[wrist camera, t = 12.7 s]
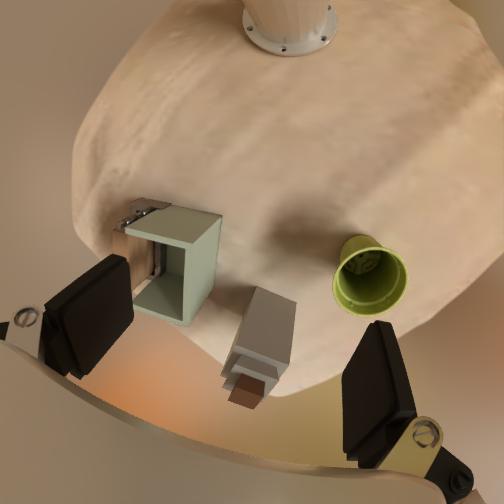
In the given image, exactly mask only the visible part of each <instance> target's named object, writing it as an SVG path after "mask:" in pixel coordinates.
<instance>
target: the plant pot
mask: <svg viewBox="0 0 504 504" xmlns="http://www.w3.org/2000/svg"><path fill="white" fill-rule="evenodd" d="M361 254H363V257H360V255H361ZM347 261H348V263H349V264H350V265H351V266H352V268H350V267H348V265H347V264H346V262H347ZM372 263H374V264H373V265H372V266H371V267H370V268H367V267H368V266H370V265H371V264H372ZM408 278H409V276H408V270H407V267H406V264H405V262H404V261H403V259H402V258H401V257H400V256H399V255H398V254H397V253H395V252H394V251H392V250H390V249H387V248H384V247H382V246H381V245H380V244H379V243H378V242H377V241H376V240H375V239H373V238H372V237H370V236H366V235H357V236H354V237H352V238H350V239H349V240H348V241H347V242H346V243H345V244H344V245H343V247H342V249H341V253H340V264H339V266H338V268H337V270H336V272H335V274H334V277H333V283H332V289H333V295H334V298H335V300H336V301H337V303H338V304H339V306H340V307H341V308H343V309H344V310H345V311H346V312H348V313H350V314H353V315H355V316H360V317H373V316H377V315H381V314H383V313H385V312H387V311H389V310H390V309H392V308H393V307H394V306H396V305H397V304H398V302H399V301H400V300H401V299H402V297H403V296H404V294H405V291H406V289H407V285H408Z"/></svg>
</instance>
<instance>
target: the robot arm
mask: <svg viewBox="0 0 504 504" xmlns="http://www.w3.org/2000/svg"><path fill="white" fill-rule="evenodd" d="M241 1H242V3H243V4H244V6H245V8H244V11H243V15H242V23H243V27H244V30H245V32H246V34H247V35H248V37H249V38H250V39H251V40H252V42H253V43H254V44H256V45H257V46H258V47H260V48H261V49H263V50H265V51H267V52H270V53H273V54H276V55H281V56H292V57H296V56H304V55H308V54H312V53H314V52H316V51H319V50H321V49H322V48H324V47H325V46H326V45H327V44H328V43H329V42H330V41H331V40H332V39H333V37H334V35H335V33H336V30H337V25H338V18H337V14H336V11H335V8H334V7H333V5H332V4H331V3H330V1H329V0H241ZM328 9H329V10H328ZM250 30H252V31H250ZM322 39H324V40H325V41H322ZM282 50H286V51H285V52H282ZM44 306H45V309H46V311H45V312H44V313H43V312H42V310H41V308H39V307H38V306H35V305H25V306H22V307H20V308H19V309H17V310H16V311H15V312H14V313H13V314H12V316H11V319H10V322H3V323H0V504H486V503H485V502H484V500H483V499H482V497H481V496H480V494H479V493H478V491H477V489H474V490H472V487H473V484H474V477H473V474H472V471H471V470H470V469H469V468H468V467H467V466H466V465H465V464H464V463H462V462H461V461H460V460H459V459H457V458H456V457H455V456H454V455H452V454H451V453H450V452H449V451H447V450H446V449H445V448H444V447H442V446H441V445H442V442H443V432H442V429H441V427H440V426H439V424H438V423H437V422H436V421H435V420H433V419H432V418H430V417H426V416H420V417H417V413H416V407H415V403H414V399H413V395H412V391H411V387H410V383H409V380H408V376H407V372H406V368H405V365H404V362H403V358H402V355H401V352H400V348H399V345H398V342H397V339H396V336H395V333H394V330H393V327H392V324H391V323H389V322H384V321H379V320H376V321H375V322H374V323H370V324H369V326H368V327H367V329H366V331H365V333H364V335H363V337H362V339H361V341H360V343H359V345H358V346H357V348H356V350H355V352H354V354H353V356H352V357H351V359H350V361H349V363H348V364H347V366H346V368H345V369H344V371H343V374H342V401H343V402H342V404H343V452H344V453H347V461H358V467H359V468H336V467H324V466H314V465H306V464H296V463H290V462H284V461H277V460H272V459H266V458H261V457H255V456H251V455H247V454H243V453H238V452H234V451H230V450H226V449H223V448H219V447H216V446H212V445H209V444H206V443H202V442H199V441H196V440H193V439H190V438H187V437H185V436H182V435H179V434H176V433H174V432H171V431H168V430H166V429H163V428H161V427H158V426H156V425H153V424H151V423H149V422H146V421H144V420H142V419H140V418H138V417H135V416H133V415H131V414H129V413H127V412H125V411H122V410H121V409H119V408H117V407H115V406H113V405H111V404H109V403H107V402H105V401H103V400H101V399H99V398H98V397H96V396H94V395H92V394H91V393H89V392H87V391H86V390H84V389H82V388H81V387H79V386H77V385H76V384H74V383H73V382H71V381H69V380H68V379H67V374H68V373H69V372H70V374H71V375H73V376H75V377H76V378H78V379H79V380H81V379H82V377H83V376H84V375H88V374H89V373H90V372H91V371H92V369H93V368H94V367H95V366H96V364H97V363H98V362H99V361H100V360H101V358H102V357H103V356H104V355H105V354H106V352H107V351H108V350H109V349H110V348H111V346H112V345H113V344H114V343H115V341H116V340H117V339H118V338H119V337H120V336H121V335H122V333H123V332H124V331H125V330H126V329H127V328H128V326H129V325H130V324H131V323H132V321H133V318H134V310H133V301H132V290H131V278H130V265H129V262H127V259H126V258H125V257H123V256H120V255H117V254H111V255H109V256H108V257H106V258H105V259H104V260H102V261H101V262H99V263H98V264H97V265H95V266H94V267H92V268H91V269H90V270H88V271H87V272H86V273H84V274H83V275H82V276H80V277H79V278H77V279H76V280H75V281H74V282H72V283H71V284H70V285H68V286H67V287H66V288H65V289H63V290H62V291H61V292H59V293H58V294H57V295H55V296H54V297H53V298H52V299H51V300H49V301H48V302H47V303H46V304H44Z"/></svg>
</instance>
